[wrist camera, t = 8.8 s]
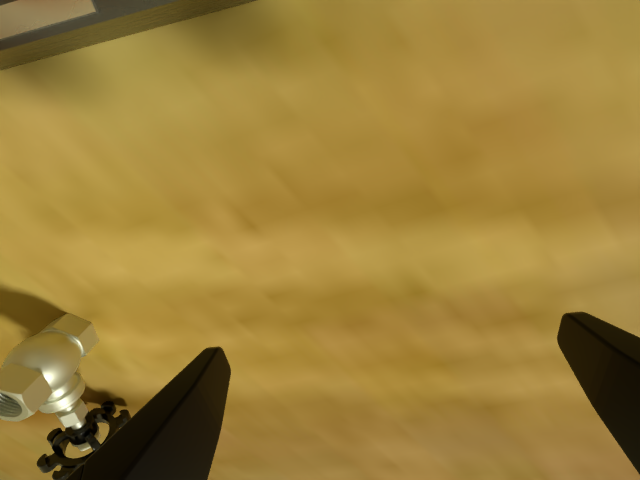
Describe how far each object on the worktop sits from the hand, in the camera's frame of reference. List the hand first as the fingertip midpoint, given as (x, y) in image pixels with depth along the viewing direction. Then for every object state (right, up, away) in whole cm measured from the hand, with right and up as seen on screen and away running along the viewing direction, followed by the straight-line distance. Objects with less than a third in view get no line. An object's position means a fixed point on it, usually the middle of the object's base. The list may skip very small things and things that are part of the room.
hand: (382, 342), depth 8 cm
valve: (-22, -8, +19) cm, 30 cm away
